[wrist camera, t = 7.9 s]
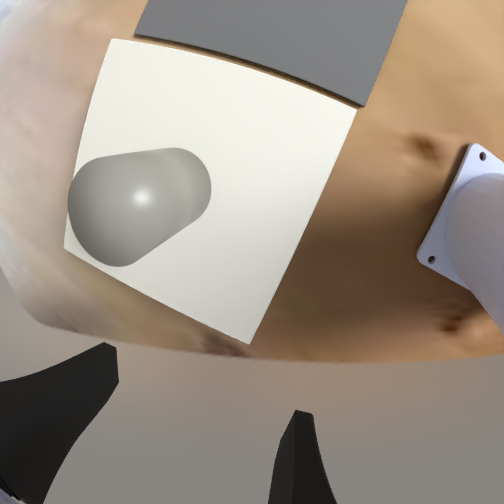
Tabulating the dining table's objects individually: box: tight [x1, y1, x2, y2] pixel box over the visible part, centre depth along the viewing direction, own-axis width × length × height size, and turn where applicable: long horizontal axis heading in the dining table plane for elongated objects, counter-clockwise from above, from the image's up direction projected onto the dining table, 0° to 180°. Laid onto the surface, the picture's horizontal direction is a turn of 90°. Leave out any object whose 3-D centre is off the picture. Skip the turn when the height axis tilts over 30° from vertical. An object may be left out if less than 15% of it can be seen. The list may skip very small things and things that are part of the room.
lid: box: [64, 38, 357, 344], centre depth 12 cm, size 12×12×6 cm
